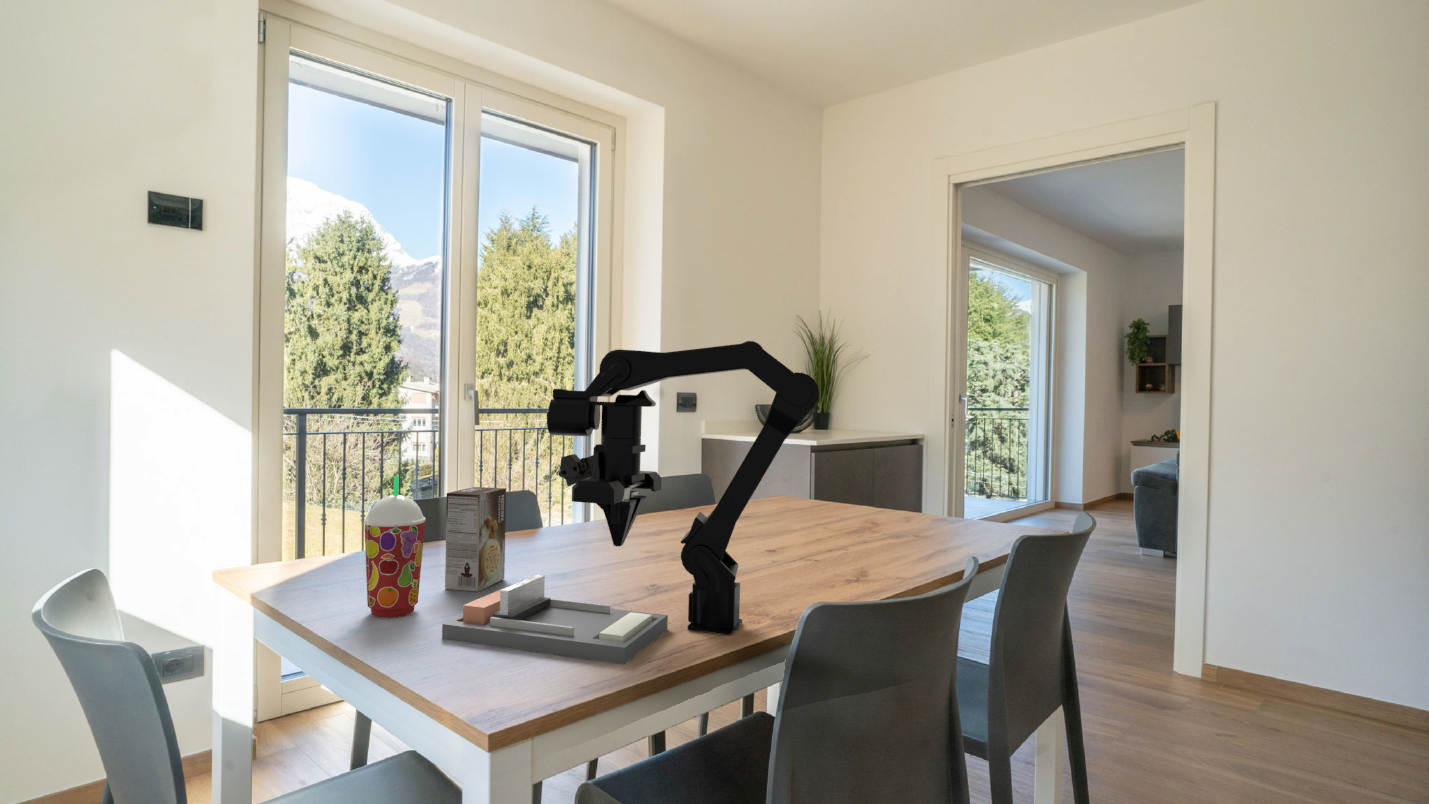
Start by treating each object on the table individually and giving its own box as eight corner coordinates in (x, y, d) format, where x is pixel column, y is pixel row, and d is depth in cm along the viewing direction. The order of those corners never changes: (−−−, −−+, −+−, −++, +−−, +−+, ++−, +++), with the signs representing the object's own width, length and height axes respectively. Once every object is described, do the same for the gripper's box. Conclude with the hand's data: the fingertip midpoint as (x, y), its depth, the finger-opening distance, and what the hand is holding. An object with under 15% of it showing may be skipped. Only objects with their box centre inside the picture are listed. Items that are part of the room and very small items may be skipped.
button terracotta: (523, 607, 110) (523, 590, 110) (483, 626, 101) (484, 607, 101) (504, 604, 111) (504, 587, 111) (462, 623, 102) (463, 605, 102)
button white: (651, 632, 105) (651, 614, 105) (622, 655, 95) (622, 635, 95) (630, 630, 106) (630, 612, 106) (598, 652, 96) (599, 632, 96)
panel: (667, 629, 107) (667, 607, 107) (624, 664, 92) (625, 639, 92) (504, 609, 114) (505, 589, 114) (442, 639, 100) (442, 616, 100)
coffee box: (471, 576, 134) (474, 486, 134) (505, 579, 133) (507, 487, 133) (443, 589, 125) (445, 492, 125) (478, 592, 124) (481, 494, 124)
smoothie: (399, 602, 117) (402, 472, 117) (435, 611, 112) (439, 476, 112) (348, 614, 110) (352, 476, 110) (385, 624, 105) (389, 480, 105)
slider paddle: (550, 604, 109) (551, 575, 109) (512, 624, 100) (513, 592, 100) (531, 602, 110) (532, 573, 110) (492, 621, 100) (493, 589, 100)
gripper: (598, 433, 121) (595, 531, 121) (538, 438, 103) (535, 553, 103) (664, 436, 117) (661, 536, 117) (613, 441, 100) (610, 560, 100)
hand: (618, 545), depth 109 cm, fingers closed
